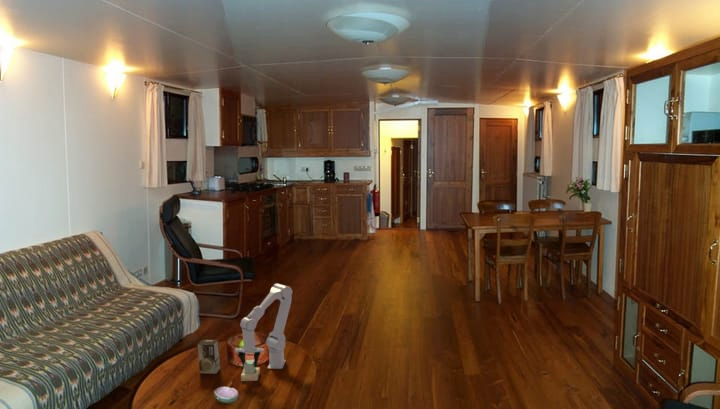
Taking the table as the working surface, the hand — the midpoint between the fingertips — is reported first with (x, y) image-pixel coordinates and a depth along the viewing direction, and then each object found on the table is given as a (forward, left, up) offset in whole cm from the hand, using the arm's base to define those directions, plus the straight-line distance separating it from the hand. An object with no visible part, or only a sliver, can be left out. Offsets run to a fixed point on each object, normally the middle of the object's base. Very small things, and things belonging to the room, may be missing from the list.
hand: (250, 366), depth 256 cm
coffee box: (-6, -24, -6) cm, 25 cm away
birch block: (0, 0, -6) cm, 6 cm away
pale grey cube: (0, 0, -3) cm, 3 cm away
